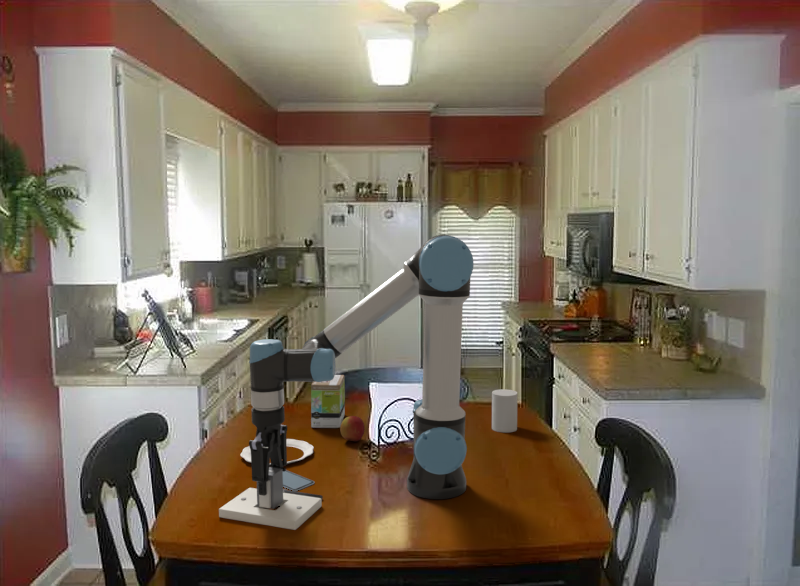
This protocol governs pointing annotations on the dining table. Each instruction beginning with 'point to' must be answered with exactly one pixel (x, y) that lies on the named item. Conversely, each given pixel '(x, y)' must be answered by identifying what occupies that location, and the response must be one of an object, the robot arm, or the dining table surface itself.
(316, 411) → the tea box
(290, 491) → the cable
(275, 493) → the block
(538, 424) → the dining table surface
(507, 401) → the white cylinder
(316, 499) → the outlet plate
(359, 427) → the apple
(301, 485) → the smartphone
